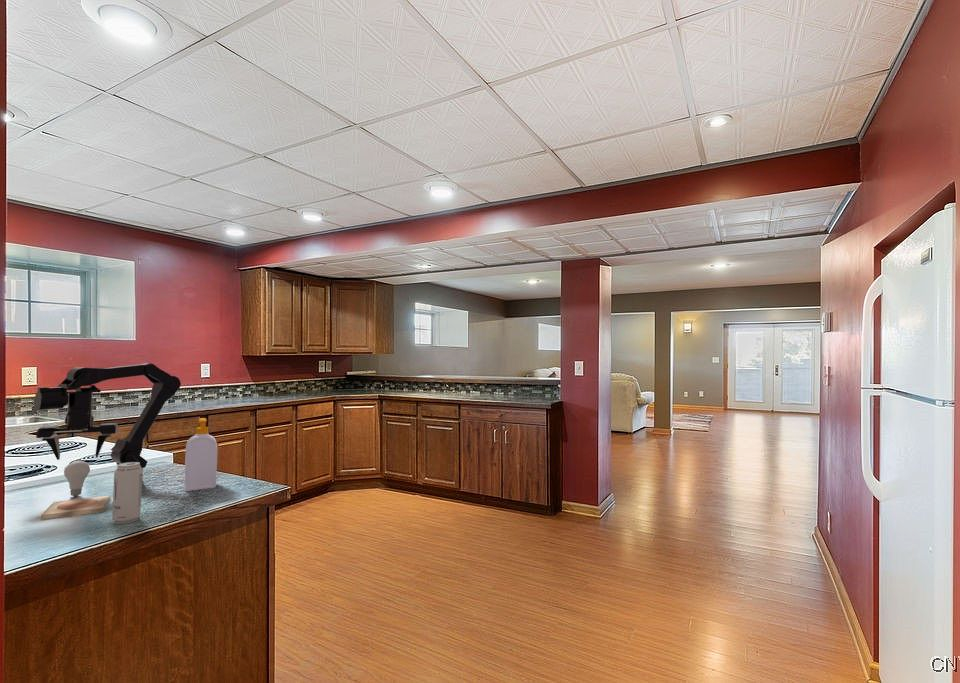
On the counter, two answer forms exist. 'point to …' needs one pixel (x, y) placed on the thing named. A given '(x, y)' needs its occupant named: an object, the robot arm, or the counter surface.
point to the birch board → (76, 507)
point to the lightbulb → (76, 476)
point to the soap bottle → (201, 460)
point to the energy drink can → (127, 492)
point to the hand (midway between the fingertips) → (77, 458)
